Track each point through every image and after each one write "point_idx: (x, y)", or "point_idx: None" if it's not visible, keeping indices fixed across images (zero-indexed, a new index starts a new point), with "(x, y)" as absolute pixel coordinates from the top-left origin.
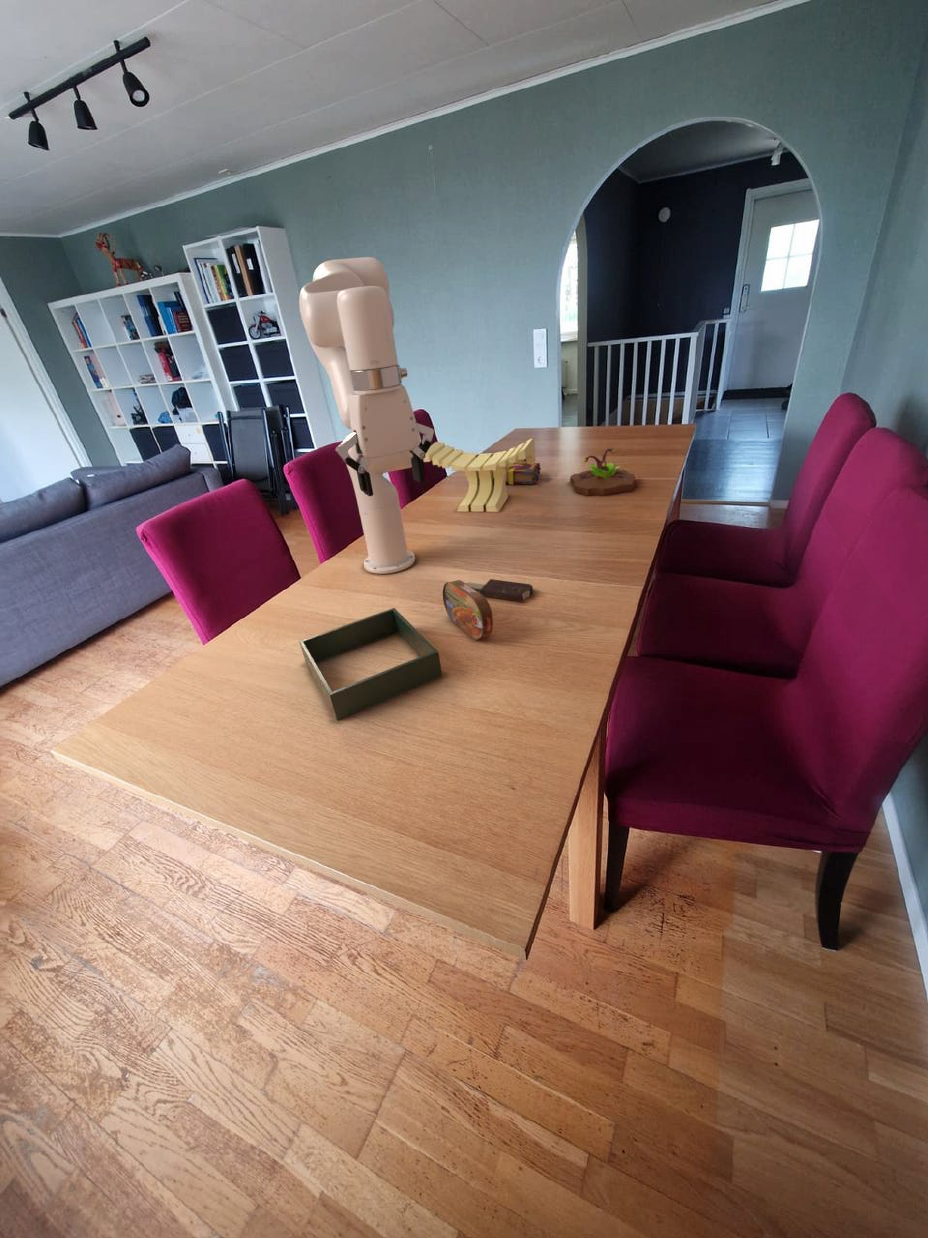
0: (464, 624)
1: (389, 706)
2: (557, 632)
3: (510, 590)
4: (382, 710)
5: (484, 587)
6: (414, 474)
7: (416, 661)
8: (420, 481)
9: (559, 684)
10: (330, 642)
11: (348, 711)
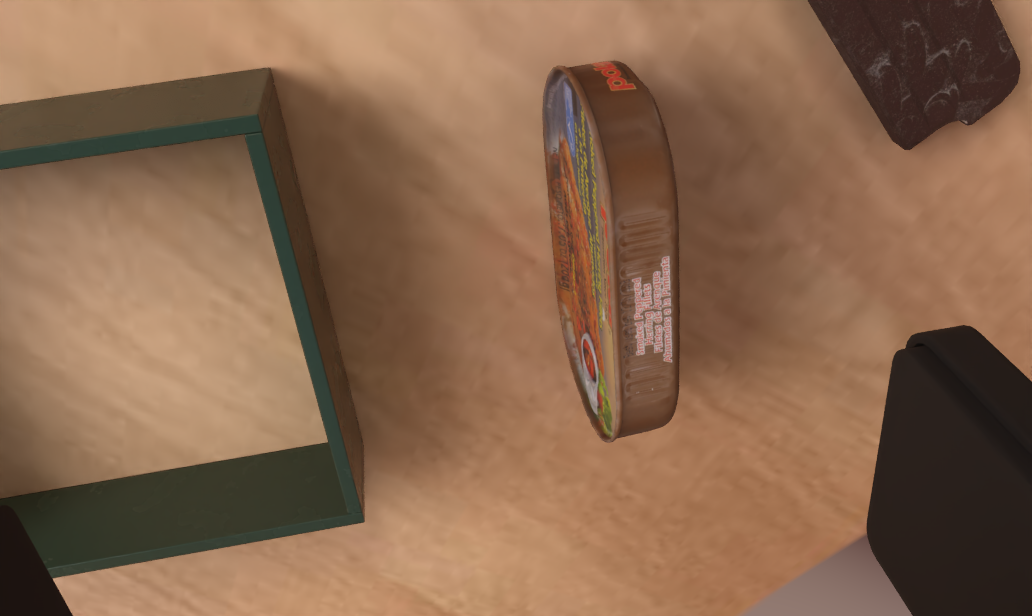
0: (567, 236)
1: None
2: (831, 384)
3: (912, 68)
4: None
5: None
6: (939, 462)
7: (270, 537)
8: (875, 550)
9: (656, 578)
10: None
11: None
